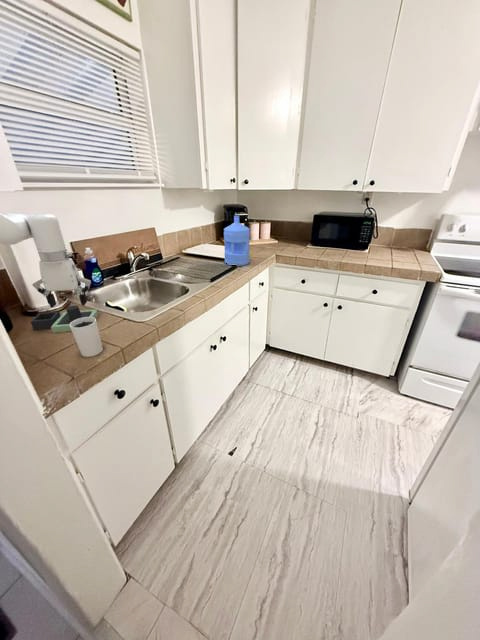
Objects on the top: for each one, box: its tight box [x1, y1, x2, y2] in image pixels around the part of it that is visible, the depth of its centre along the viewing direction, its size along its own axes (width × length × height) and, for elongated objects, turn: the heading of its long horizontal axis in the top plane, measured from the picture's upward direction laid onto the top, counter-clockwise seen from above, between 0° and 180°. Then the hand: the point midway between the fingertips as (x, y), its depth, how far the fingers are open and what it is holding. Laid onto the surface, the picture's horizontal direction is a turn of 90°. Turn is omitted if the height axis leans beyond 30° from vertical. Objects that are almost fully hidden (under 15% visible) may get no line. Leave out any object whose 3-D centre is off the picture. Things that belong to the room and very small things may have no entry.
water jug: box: [223, 215, 251, 267], centre depth 158 cm, size 16×16×28 cm
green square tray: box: [50, 309, 99, 333], centre depth 94 cm, size 12×12×2 cm
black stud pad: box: [58, 304, 92, 325], centre depth 93 cm, size 8×8×5 cm
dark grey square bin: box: [29, 311, 62, 331], centre depth 92 cm, size 7×7×4 cm
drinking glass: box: [70, 317, 104, 358], centre depth 76 cm, size 7×7×10 cm
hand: (69, 305), depth 91 cm, fingers open, 9 cm apart
